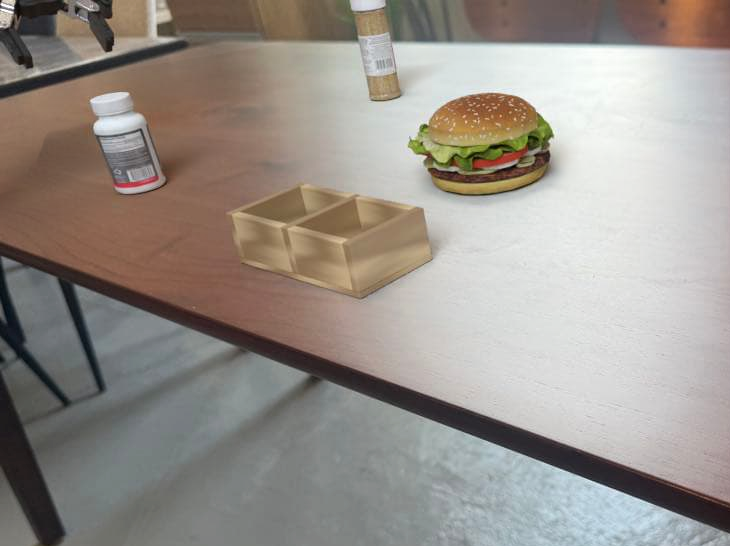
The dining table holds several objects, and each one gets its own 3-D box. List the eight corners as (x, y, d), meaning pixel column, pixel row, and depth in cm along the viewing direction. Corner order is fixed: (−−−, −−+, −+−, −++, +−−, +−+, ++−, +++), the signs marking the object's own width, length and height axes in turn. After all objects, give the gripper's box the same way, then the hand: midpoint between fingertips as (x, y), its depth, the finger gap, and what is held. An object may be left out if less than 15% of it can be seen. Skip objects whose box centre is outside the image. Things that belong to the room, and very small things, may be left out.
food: (402, 174, 91) (388, 96, 87) (525, 148, 95) (517, 72, 90) (438, 213, 80) (424, 127, 76) (575, 182, 84) (570, 98, 80)
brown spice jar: (400, 91, 123) (382, -13, 115) (402, 98, 119) (384, -8, 112) (368, 95, 122) (347, -8, 115) (369, 103, 118) (349, -4, 111)
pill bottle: (128, 180, 98) (96, 92, 93) (174, 176, 98) (144, 87, 92) (108, 197, 94) (73, 105, 88) (156, 193, 93) (124, 100, 88)
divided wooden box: (240, 262, 75) (225, 213, 72) (312, 229, 80) (300, 182, 77) (360, 299, 66) (348, 244, 64) (432, 259, 71) (423, 207, 69)
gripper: (-82, -83, 88) (-3, 45, 87) (60, -100, 96) (135, 18, 95) (-69, -27, 94) (5, 93, 93) (64, -47, 102) (134, 64, 101)
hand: (70, 55), depth 94 cm, fingers open, 8 cm apart
